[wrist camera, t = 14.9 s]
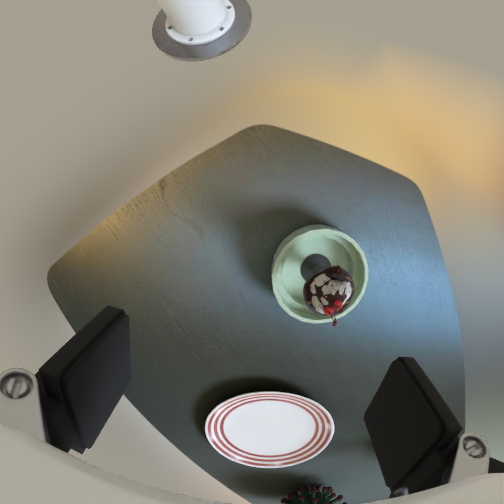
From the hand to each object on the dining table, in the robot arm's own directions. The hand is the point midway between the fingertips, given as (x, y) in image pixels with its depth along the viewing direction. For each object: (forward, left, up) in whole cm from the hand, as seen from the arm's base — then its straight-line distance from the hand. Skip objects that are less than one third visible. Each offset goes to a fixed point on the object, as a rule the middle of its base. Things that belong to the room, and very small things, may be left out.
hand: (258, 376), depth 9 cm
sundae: (+5, +9, -35) cm, 37 cm away
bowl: (+5, +9, -35) cm, 37 cm away
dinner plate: (+42, +10, -36) cm, 56 cm away
